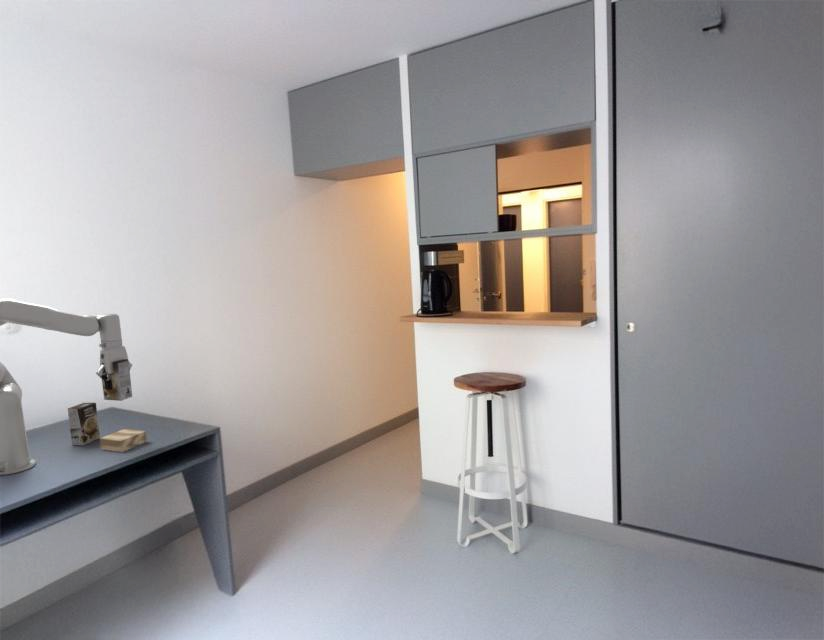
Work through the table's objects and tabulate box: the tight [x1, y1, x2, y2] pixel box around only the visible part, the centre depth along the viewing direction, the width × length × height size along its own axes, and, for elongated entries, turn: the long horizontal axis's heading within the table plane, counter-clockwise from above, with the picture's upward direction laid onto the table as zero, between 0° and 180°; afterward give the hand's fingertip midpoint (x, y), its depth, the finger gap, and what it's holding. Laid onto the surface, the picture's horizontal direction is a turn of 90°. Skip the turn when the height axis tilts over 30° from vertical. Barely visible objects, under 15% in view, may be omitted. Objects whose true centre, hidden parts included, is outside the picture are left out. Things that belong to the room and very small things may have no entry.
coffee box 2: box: [101, 358, 133, 402], centre depth 218 cm, size 9×6×16 cm
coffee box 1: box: [67, 402, 101, 446], centre depth 227 cm, size 9×6×16 cm
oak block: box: [99, 428, 148, 453], centre depth 221 cm, size 12×12×5 cm
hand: (116, 386), depth 218 cm, fingers closed on coffee box 2, 6 cm apart
